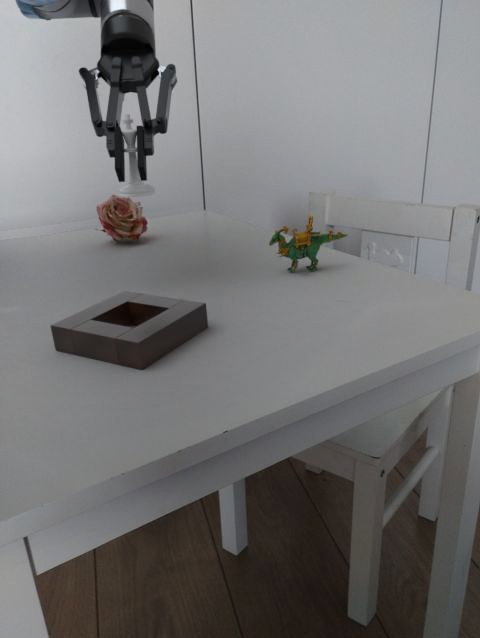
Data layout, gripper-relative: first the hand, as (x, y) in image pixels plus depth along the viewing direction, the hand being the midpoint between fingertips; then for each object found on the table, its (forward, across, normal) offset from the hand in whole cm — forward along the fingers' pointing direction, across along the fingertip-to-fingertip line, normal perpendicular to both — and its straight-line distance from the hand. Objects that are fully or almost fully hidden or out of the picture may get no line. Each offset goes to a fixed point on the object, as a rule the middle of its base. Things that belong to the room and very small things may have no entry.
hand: (131, 174), depth 73 cm
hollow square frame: (+22, 0, 0) cm, 22 cm away
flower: (-11, +7, -34) cm, 36 cm away
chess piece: (0, 0, -5) cm, 5 cm away
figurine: (+7, -24, -15) cm, 29 cm away
